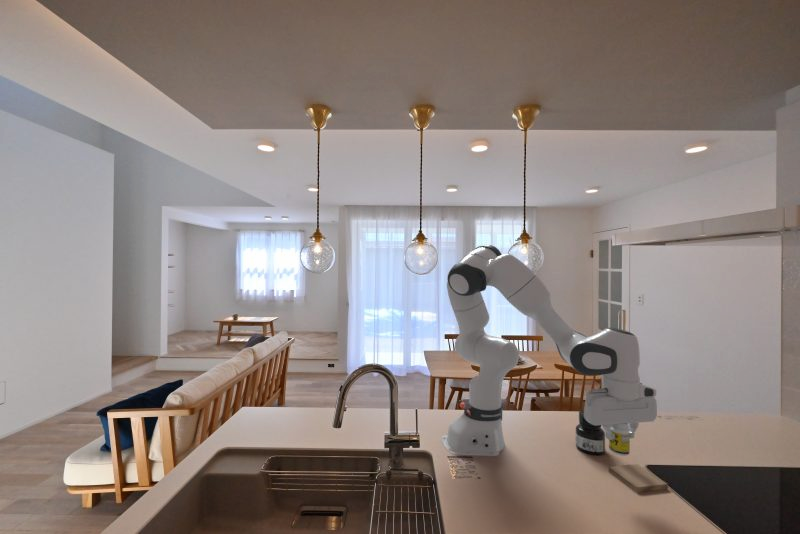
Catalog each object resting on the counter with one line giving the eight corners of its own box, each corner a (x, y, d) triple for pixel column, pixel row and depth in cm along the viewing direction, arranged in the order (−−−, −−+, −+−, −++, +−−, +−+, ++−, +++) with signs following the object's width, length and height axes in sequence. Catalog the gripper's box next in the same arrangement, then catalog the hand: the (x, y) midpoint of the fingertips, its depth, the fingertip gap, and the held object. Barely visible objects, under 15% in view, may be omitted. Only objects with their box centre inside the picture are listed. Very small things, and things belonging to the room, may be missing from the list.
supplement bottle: (605, 447, 96) (605, 417, 96) (620, 447, 96) (620, 417, 96) (617, 456, 91) (617, 425, 91) (633, 456, 91) (634, 424, 91)
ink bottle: (571, 449, 116) (571, 413, 117) (577, 439, 123) (577, 406, 123) (603, 459, 110) (603, 422, 110) (608, 448, 117) (608, 413, 117)
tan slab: (636, 494, 93) (636, 487, 93) (608, 473, 103) (608, 466, 103) (667, 491, 95) (667, 483, 95) (637, 470, 105) (637, 464, 105)
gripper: (595, 393, 89) (595, 446, 88) (661, 390, 92) (661, 441, 92) (578, 385, 95) (578, 435, 95) (641, 382, 98) (641, 430, 98)
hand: (619, 438), depth 93 cm, fingers closed on supplement bottle, 5 cm apart
